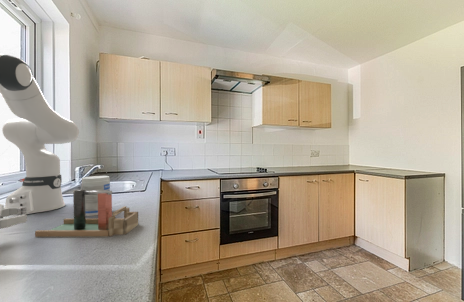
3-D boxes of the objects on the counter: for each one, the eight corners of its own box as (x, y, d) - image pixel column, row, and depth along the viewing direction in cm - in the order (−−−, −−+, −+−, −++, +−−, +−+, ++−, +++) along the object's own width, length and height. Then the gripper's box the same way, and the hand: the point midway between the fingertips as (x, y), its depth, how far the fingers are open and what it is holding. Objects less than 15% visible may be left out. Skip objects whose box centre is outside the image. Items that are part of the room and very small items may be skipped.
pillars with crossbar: (71, 229, 65) (70, 191, 65) (78, 226, 68) (78, 189, 68) (108, 229, 65) (108, 191, 65) (114, 225, 68) (114, 189, 68)
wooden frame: (108, 238, 61) (108, 214, 61) (127, 225, 72) (127, 204, 72) (123, 238, 61) (123, 214, 61) (139, 225, 72) (139, 204, 72)
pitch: (35, 239, 61) (35, 231, 61) (65, 225, 72) (65, 218, 72) (108, 239, 61) (107, 231, 61) (127, 225, 72) (127, 218, 72)
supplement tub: (111, 215, 83) (110, 177, 83) (81, 219, 78) (80, 179, 78) (109, 209, 91) (108, 174, 91) (82, 212, 86) (81, 176, 86)
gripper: (-73, 226, 41) (26, 210, 51) (-48, 204, 56) (25, 196, 65) (-72, 258, 41) (27, 236, 51) (-47, 228, 56) (26, 216, 66)
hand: (26, 213), depth 58 cm, fingers open, 8 cm apart
